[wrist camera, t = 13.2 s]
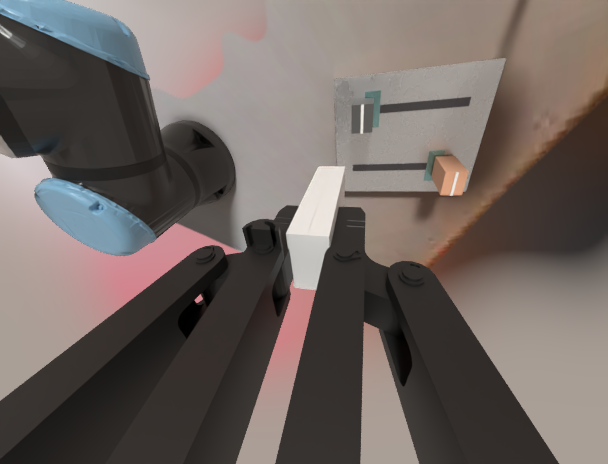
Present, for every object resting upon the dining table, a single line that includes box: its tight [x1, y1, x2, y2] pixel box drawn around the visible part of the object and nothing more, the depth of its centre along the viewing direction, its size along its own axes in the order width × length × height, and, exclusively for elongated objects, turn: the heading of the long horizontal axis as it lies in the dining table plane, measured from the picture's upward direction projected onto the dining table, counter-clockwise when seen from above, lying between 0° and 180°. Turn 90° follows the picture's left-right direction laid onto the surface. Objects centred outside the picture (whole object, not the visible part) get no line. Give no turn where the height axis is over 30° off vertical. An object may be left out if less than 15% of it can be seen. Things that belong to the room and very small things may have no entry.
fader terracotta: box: [431, 156, 469, 196], centre depth 31 cm, size 2×3×6 cm
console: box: [334, 58, 506, 192], centre depth 33 cm, size 19×16×2 cm
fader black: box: [351, 97, 374, 134], centre depth 29 cm, size 2×3×6 cm
